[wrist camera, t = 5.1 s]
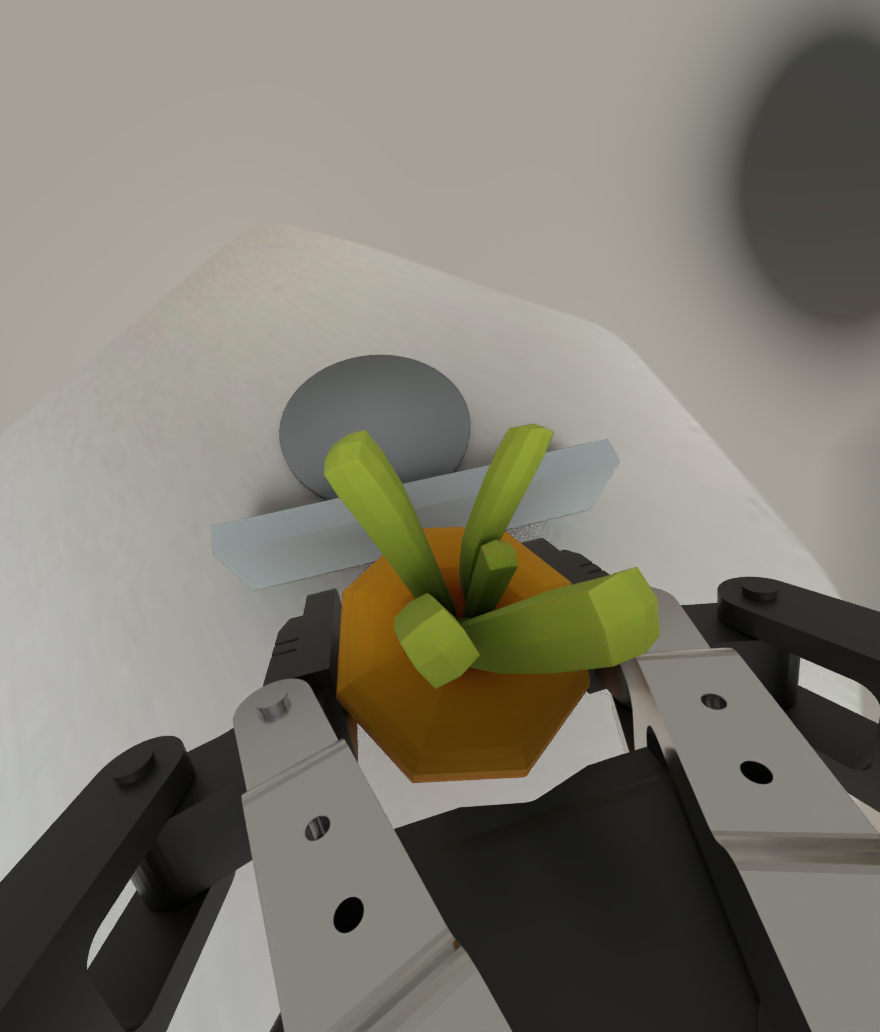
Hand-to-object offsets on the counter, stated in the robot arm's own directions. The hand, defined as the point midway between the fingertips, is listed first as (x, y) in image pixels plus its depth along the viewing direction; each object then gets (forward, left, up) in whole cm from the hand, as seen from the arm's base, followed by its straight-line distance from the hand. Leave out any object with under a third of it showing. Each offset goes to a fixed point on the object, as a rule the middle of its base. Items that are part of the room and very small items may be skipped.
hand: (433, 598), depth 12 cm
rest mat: (0, +12, -7) cm, 14 cm away
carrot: (0, -2, -7) cm, 8 cm away
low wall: (+1, +5, -7) cm, 9 cm away
